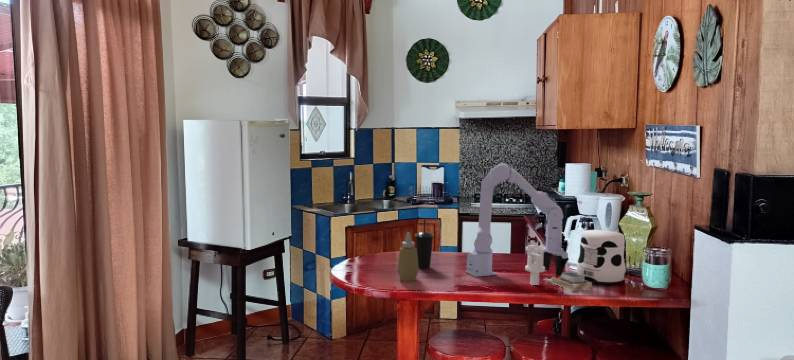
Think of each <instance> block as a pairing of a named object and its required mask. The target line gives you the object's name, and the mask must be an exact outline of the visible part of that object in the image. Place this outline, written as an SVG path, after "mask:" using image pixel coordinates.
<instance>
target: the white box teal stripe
mask: <svg viewBox="0 0 794 360" xmlns="http://www.w3.org/2000/svg"><path fill="white" fill-rule="evenodd" d="M559 277H560V279H561V280H563V281H567V282H569V283H572V284H577V283H584V276H582V275H579V274H578V273H575V272H573V271H570V272H562V275H560V276H559Z"/></svg>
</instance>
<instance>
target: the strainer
mask: <svg viewBox="0 0 794 360" xmlns="http://www.w3.org/2000/svg"><path fill="white" fill-rule="evenodd" d="M525 251H526V252H527V253H526V255H527V264H526V265H525V267H524V270H525V271H526V272H530V275H529V277H530V279H529V280H530V281H529V285H530V284H531V285H530V286H533V285H538V286H539V285H540V273H543V272H546V270H545V267H544V266H543V255H544V252H546V248H545V247H542V246H540V245H536V244H527V246H525ZM538 253H540V254H538Z"/></svg>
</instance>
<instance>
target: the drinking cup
mask: <svg viewBox="0 0 794 360" xmlns="http://www.w3.org/2000/svg"><path fill="white" fill-rule="evenodd" d="M414 236H415V245H416V247H415V248H416V249H417V256H418V267H419V270H420V269H422V270H427V269H430V268H431V261H432V250H433V242H434V236H435V235H434V234H433V233H432V232H429V231H426V218H424V219H423V231H419V232H417V233H415V234H414Z"/></svg>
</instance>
